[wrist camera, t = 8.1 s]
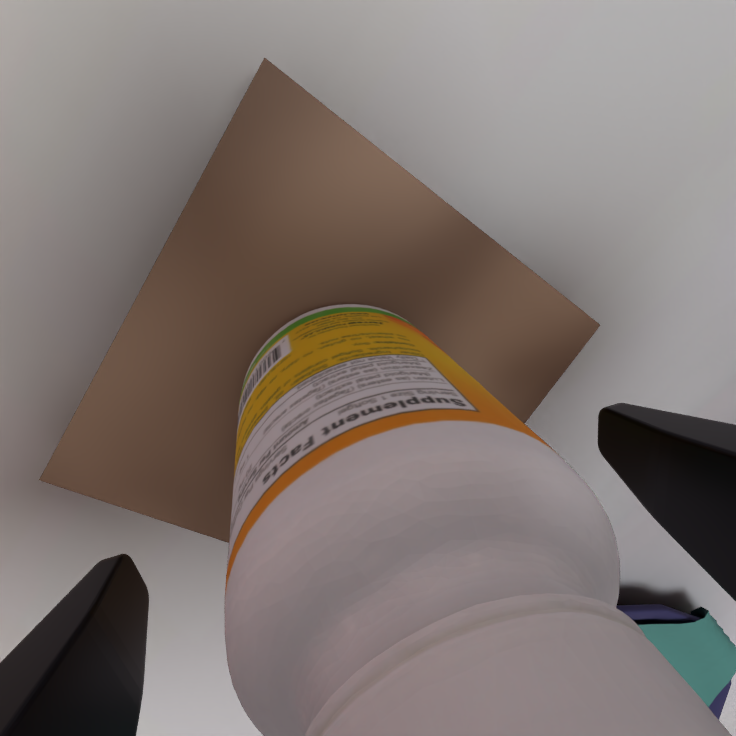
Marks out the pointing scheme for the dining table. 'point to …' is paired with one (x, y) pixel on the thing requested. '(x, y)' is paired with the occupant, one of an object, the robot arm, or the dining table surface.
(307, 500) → the supplement bottle
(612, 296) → the dining table surface
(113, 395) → the walnut board
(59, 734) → the robot arm
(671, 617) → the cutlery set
